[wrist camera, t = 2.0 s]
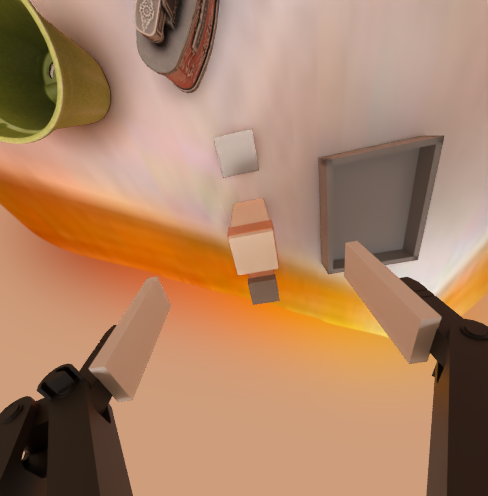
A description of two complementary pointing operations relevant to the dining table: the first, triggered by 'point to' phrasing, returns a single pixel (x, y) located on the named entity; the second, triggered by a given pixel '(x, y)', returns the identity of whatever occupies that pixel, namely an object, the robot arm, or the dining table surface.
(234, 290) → the dining table surface
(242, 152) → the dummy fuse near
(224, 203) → the dining table surface
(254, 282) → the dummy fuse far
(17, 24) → the plant pot
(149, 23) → the lighter
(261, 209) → the block
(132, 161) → the dining table surface
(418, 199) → the tray
